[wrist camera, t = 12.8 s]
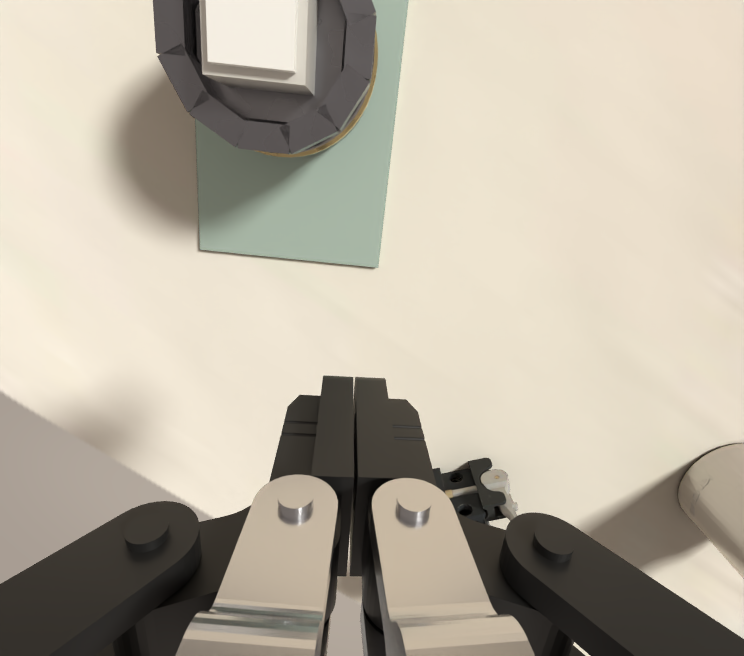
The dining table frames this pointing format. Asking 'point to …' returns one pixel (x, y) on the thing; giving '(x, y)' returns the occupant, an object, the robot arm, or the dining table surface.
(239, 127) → the grey faceted ring
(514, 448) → the dining table surface
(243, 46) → the white stepped cube
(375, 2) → the mat
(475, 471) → the scope
